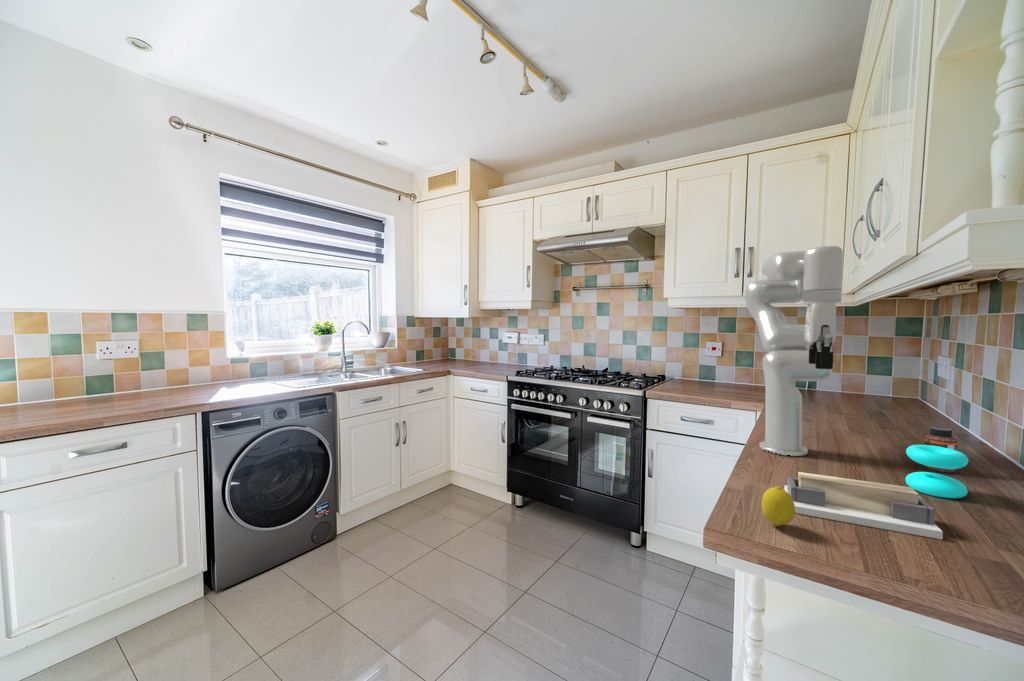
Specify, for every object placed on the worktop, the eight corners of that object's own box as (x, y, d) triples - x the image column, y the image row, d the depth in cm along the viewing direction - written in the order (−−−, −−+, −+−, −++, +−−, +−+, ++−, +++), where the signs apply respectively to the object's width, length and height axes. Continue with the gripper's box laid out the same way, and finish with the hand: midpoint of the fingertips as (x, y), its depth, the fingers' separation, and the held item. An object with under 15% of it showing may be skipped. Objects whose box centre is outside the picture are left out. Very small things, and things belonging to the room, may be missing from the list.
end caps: (787, 489, 92) (787, 476, 92) (919, 510, 81) (919, 495, 81) (791, 500, 86) (791, 487, 86) (934, 524, 75) (934, 509, 75)
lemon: (800, 534, 75) (801, 493, 75) (768, 532, 76) (768, 491, 76) (786, 520, 81) (786, 482, 80) (756, 518, 82) (756, 480, 81)
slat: (797, 493, 90) (798, 471, 89) (910, 511, 80) (911, 487, 80) (800, 499, 86) (800, 477, 86) (917, 519, 77) (918, 494, 77)
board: (784, 491, 94) (784, 485, 94) (916, 512, 83) (916, 505, 83) (790, 512, 84) (790, 505, 84) (942, 539, 73) (942, 531, 73)
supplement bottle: (960, 475, 102) (962, 432, 102) (928, 471, 105) (929, 429, 105) (951, 468, 107) (952, 427, 107) (920, 464, 110) (921, 424, 110)
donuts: (979, 459, 86) (916, 452, 91) (977, 504, 86) (915, 495, 91) (954, 446, 95) (899, 441, 99) (953, 487, 95) (898, 480, 100)
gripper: (798, 299, 107) (796, 361, 108) (808, 297, 92) (807, 370, 93) (833, 297, 103) (831, 362, 104) (850, 296, 88) (848, 371, 89)
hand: (819, 366), depth 98 cm, fingers open, 9 cm apart
